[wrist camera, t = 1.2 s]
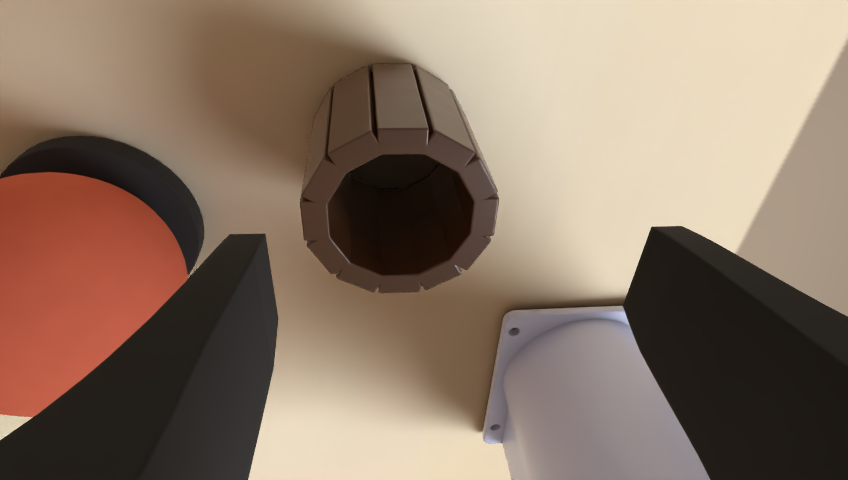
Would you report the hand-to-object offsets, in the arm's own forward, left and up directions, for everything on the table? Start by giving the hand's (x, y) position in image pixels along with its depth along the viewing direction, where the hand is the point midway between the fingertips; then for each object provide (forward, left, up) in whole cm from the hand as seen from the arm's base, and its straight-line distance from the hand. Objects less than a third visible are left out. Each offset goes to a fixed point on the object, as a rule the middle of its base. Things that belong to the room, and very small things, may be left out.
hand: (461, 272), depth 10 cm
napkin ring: (-1, +1, -9) cm, 9 cm away
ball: (-4, +11, -9) cm, 15 cm away
